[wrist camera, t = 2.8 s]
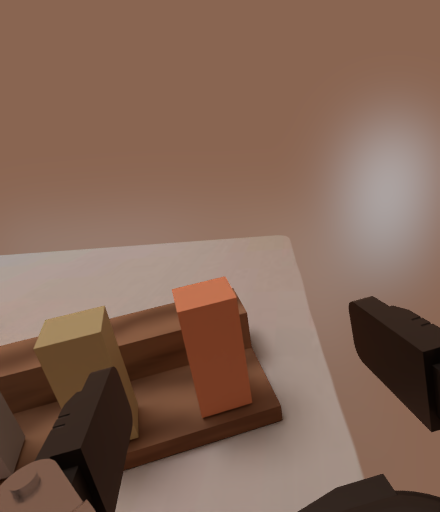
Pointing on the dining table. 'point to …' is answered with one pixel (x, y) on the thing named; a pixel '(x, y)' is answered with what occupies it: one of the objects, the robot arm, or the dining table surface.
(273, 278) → the dining table surface
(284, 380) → the dining table surface
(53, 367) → the khaki rectangular block
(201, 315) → the terracotta key
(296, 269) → the dining table surface
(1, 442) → the slate key
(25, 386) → the console
